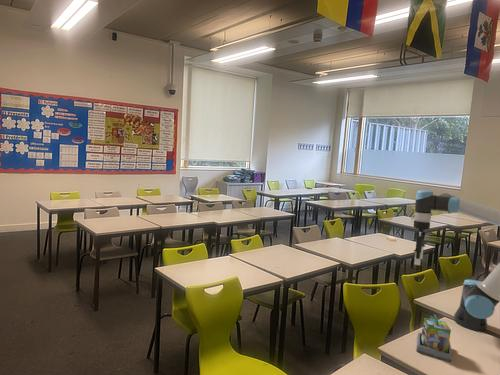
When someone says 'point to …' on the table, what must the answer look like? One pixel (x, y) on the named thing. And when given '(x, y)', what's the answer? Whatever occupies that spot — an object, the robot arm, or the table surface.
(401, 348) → the table surface
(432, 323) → the chalk box
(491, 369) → the table surface
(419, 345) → the tray
